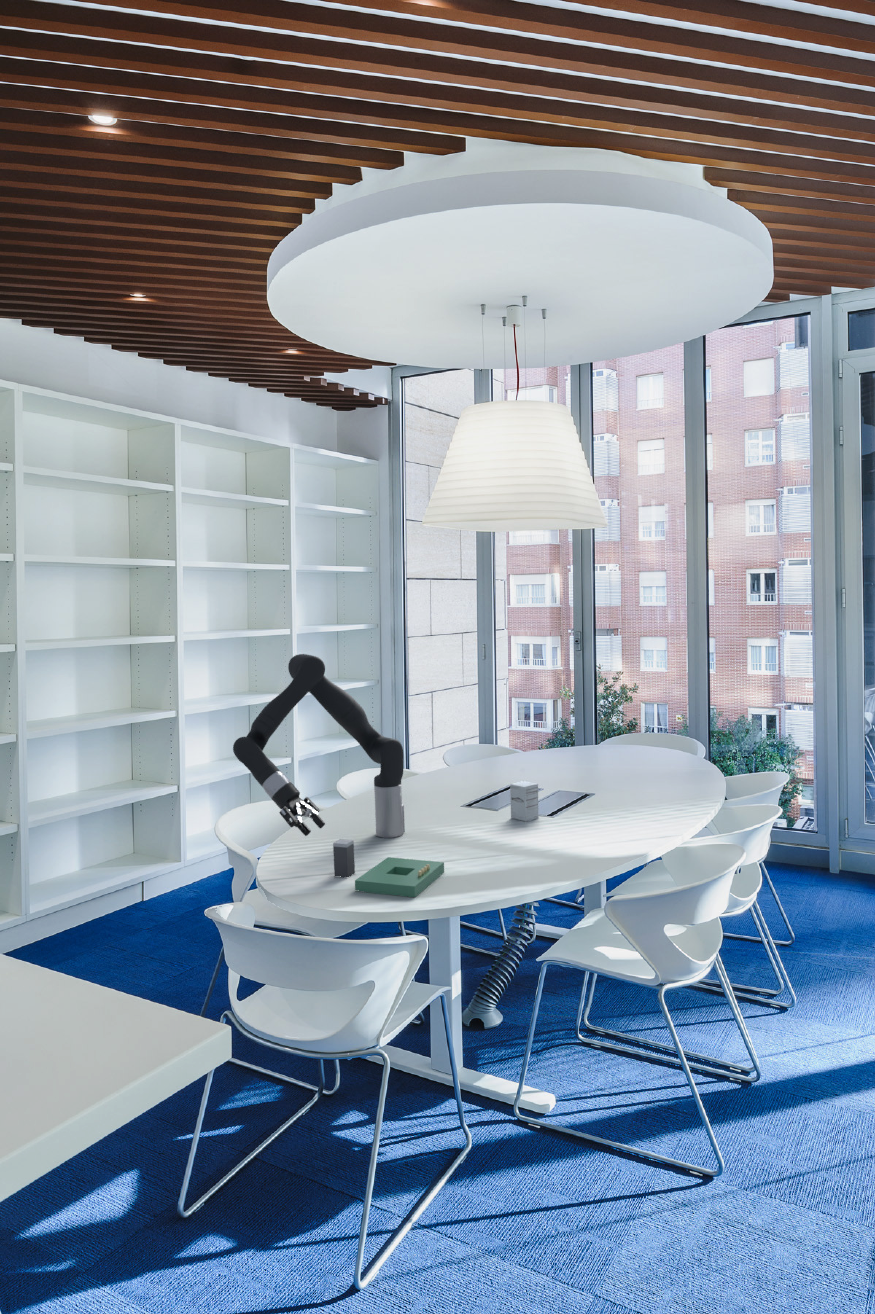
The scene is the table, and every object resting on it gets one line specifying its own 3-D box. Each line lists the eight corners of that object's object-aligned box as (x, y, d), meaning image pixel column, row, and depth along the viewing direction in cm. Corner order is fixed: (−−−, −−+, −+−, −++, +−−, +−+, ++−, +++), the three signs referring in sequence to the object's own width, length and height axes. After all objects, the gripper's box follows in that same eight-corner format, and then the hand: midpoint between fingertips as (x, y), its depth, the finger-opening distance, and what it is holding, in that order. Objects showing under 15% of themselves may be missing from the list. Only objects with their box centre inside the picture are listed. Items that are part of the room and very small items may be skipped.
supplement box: (510, 818, 315) (509, 783, 314) (524, 814, 320) (523, 780, 319) (525, 822, 309) (524, 786, 308) (539, 817, 314) (538, 783, 313)
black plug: (341, 871, 260) (340, 838, 260) (354, 873, 259) (353, 839, 258) (334, 876, 256) (333, 842, 255) (347, 877, 255) (346, 844, 254)
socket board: (388, 866, 263) (387, 852, 263) (444, 872, 257) (443, 857, 256) (355, 890, 243) (354, 875, 243) (414, 897, 236) (414, 880, 236)
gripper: (275, 786, 255) (311, 828, 252) (300, 776, 269) (335, 815, 265) (260, 803, 258) (296, 844, 254) (286, 792, 271) (320, 831, 268)
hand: (315, 830), depth 260 cm, fingers open, 8 cm apart
